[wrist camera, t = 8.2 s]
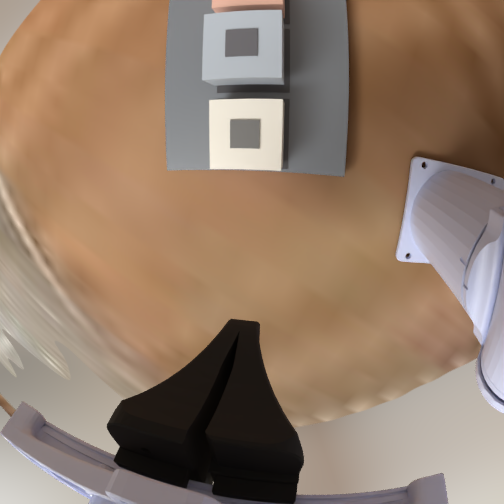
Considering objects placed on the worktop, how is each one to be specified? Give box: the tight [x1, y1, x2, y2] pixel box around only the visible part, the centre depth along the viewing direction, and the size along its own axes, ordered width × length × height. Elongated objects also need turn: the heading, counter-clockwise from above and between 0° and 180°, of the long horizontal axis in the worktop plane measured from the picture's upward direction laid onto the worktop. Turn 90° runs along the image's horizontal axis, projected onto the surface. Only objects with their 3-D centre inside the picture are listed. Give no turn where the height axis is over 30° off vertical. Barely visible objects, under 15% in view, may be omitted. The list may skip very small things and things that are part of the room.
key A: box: [209, 99, 285, 171], centre depth 16 cm, size 4×4×2 cm
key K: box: [202, 10, 284, 86], centre depth 12 cm, size 4×4×2 cm
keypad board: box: [165, 0, 349, 177], centre depth 14 cm, size 12×20×1 cm, turn 179°
